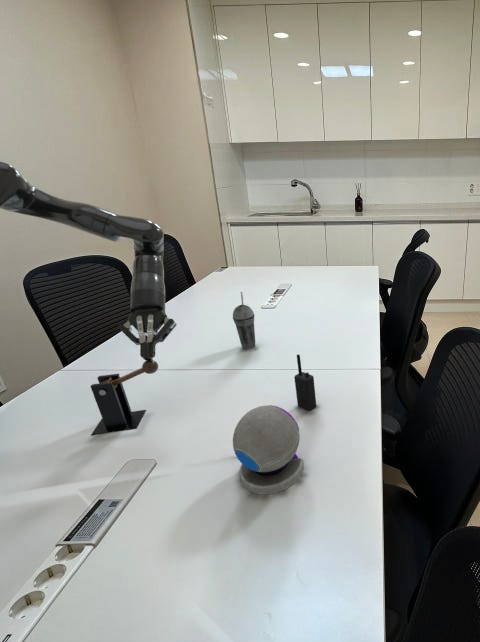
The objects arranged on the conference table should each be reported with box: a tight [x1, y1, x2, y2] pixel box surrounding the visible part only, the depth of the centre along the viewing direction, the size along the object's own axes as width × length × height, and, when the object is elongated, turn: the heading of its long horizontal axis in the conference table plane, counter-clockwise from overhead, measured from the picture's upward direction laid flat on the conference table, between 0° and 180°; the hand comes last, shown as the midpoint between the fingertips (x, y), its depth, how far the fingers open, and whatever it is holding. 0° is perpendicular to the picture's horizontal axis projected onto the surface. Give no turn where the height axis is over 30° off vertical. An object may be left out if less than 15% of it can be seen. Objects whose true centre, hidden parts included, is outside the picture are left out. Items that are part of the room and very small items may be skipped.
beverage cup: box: [232, 291, 256, 350], centre depth 134 cm, size 7×7×20 cm
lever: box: [101, 359, 159, 388], centre depth 93 cm, size 14×3×3 cm, turn 103°
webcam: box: [232, 404, 305, 495], centre depth 78 cm, size 13×13×15 cm
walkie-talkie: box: [294, 354, 317, 412], centre depth 100 cm, size 5×3×15 cm
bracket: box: [90, 373, 147, 436], centre depth 94 cm, size 10×8×13 cm
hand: (147, 359), depth 92 cm, fingers closed
